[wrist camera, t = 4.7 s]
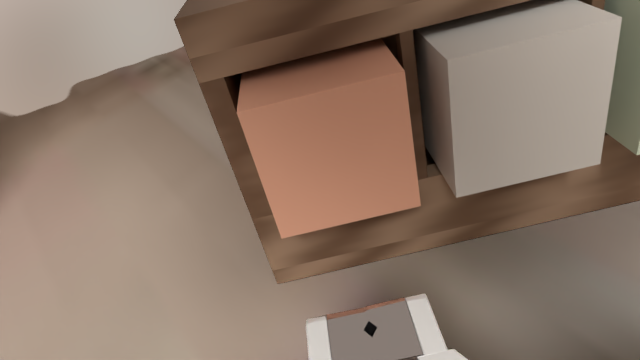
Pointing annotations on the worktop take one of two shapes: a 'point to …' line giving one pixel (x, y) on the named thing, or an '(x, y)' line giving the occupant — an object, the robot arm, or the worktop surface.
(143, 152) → the worktop surface
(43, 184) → the worktop surface
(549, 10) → the key middle
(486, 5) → the keypad console
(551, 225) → the worktop surface
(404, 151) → the key left
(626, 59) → the key right
